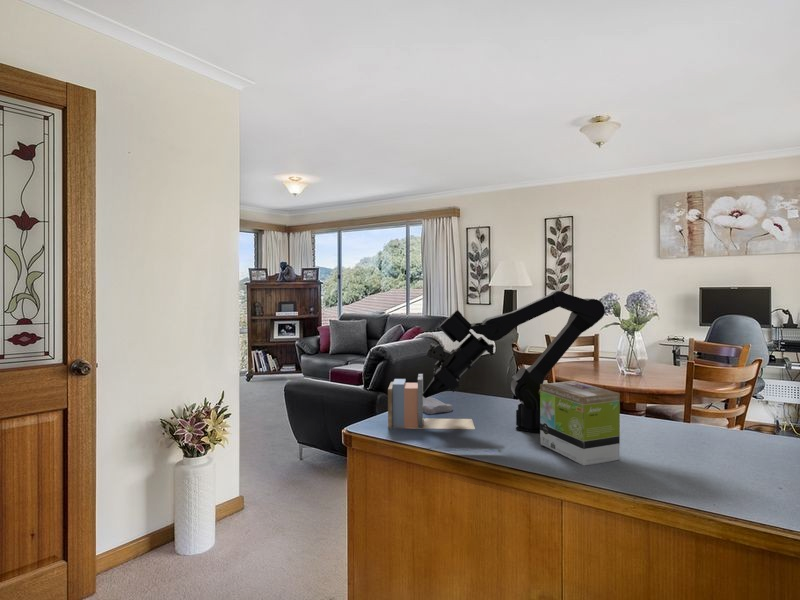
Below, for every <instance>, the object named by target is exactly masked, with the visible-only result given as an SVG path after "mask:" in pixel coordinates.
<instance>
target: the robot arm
mask: <svg viewBox="0 0 800 600" xmlns="http://www.w3.org/2000/svg"><path fill="white" fill-rule="evenodd" d="M557 308H561V309H563V310H566V311H568V312H570V314H569V317H568V320H567V322H566V323H565V325H564V327H563V328H562V329H561V330H560V331H559V332H558V334H556V336H555V337H554V338H553V340H552V341H551V342H550V343H549V345H548V346H547V347H546V348H545V349H544V350H543V352H542V353H541V354H540V355H539V357H538V358H537V359H535V361H534V363H532V365H530V366H528V367H527V368H525V366H524V365H521V366H520V367H519V369H518V371H517V372H516V373H515V375H513V376H512V377H511V378H512V380H511V383H510V389H511V391H512V393H513V395H514V396H515V397H516V398H517V399H518V401H519V402H520V403H519V404H517V409H516V410H515V424H516V426H515V430H517V431H523V432H524V431H525V432H529V433H530V432H531V433H536V434H540V384H544V381H545V379H546V377H547V375H548V374H549V373H550V372H551V370H552V369H553V368H554V366H555V365H556V364H558V362H559V360H561V358H562V357H563V356H564V355H565V353H566V352H567V351H568V350H569V349H570V348H571V346H572V345H573V344H574V343H575V342H576V340H577V339H578V338H579V337H580V336H581V334H583V333H584V332H586V331H587V330H589V329H590V328H592V327H593V326H594V325H596V324H598V322H599V321H601V320H602V319H603V318H604V316H605V313H606V311H605V308H606V307H605V305H604V304H603V302H601V300H599V299H596V298H582V297H578V296H575V295H571V294H569V293H566V292H564V291H562V290H554V291H553V290H552V292H550V293H549V294H547V295H545V296H543V297H541V298H538V299H536V300H534V301H532V302H530V303H528V304H526V305H523V306H521V307H519V308H516V309H515V310H513V311H510V312H506V313H502V314H497V315H493V316H490V317H486V318H485V319H484V320H482V322H477V323H475V322H473V323H471V322H469V321H468V319H466V318H465V317H464V316H463V314H462V313H461V312H460V310H458V309H457V310H455V311H454V312H453V313H452V314H451V315H449V316H448V317H446V319H444V321H442V322H441V324H440V325H439V326H438V329H440V330H441V332H443V333H444V334H445V336H446V337H448V339H449V340H450V341H451V342H453V343H455V342H458V343H461V342H462V341H463V340H464V341H463V342H462V343H461V344H460V345H458V347H457V348H453V349H451V350H450V351H449V350H447V349H446V348H444V346H443V345H440V344H437V345H436V344H434V343H432V342H431V343H430V344H429V347H428V348H427V350H426V353H425V356H427V357H428V358H429V359H430V358H431V359H435V360H436V362H435V363H434V366H435V367H437V369H436V368H433V378H432V379H431V381H430V382H429V384H428V385H427V387H426V389H425V390H424V391H423V397H424V398H427V397H432V396H435V395H437V394H439V393H440V394H441V393H442V392H443V393H444V392H445V391H448V390H450V391H451V392H452V393H454V392H455V391H457V389H459V387H460V383H459V380H460V379H461V376H462V375H463V374H464V373H465V372H466V371H467V370H470V369H471V368H472V367H473V366H472V365H473V364H474V363H475V362H476V361H478V360H479V358H480V357H481V356H482V355H483V354H484V353H485V352H487V353H488V354H489V355H490V356H494V347H495V345H494V344H493V343H488V342H487V341H486V339H487V340H489V341H492V342H496V341H500V340H501V339H502V338H504V337H506V336H507V335H509V334H510V333H511V332H512V331H513V330H515V329H516V328H518V326H520V325H522V324H524V323H527V322H528V321H531V320H533V319H535V318H537V317H540V316H541V315H544V314H547V313H548V312H551V311H553V310H555V309H557ZM471 330H472V331H473V332H474V333H475V334H476V335H483V337H484V338H486V339H484V338H483V337H482V336H480V337H478V338H477V337H476V335H474V334H473V333H472V332H471ZM468 335H469V336H468ZM467 336H468V337H467Z"/></svg>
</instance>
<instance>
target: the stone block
mask: <svg viewBox="0 0 800 600" xmlns="http://www.w3.org/2000/svg"><path fill="white" fill-rule="evenodd" d="M452 411H453V405H452V404H450V403H445V402H442V401H441V400H439V399H437V398H435V397H432V396H430V397H427V398H424V397H423V413H425V414H428V415H434V414H439V413H446V412H452Z"/></svg>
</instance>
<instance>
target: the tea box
mask: <svg viewBox="0 0 800 600" xmlns="http://www.w3.org/2000/svg"><path fill="white" fill-rule="evenodd" d="M539 394H540V433H539V434H540V435H539V436H540V438H539V439H540V446H543V447H545V448H548V449H550V450H552V451H553V452H555V453H558V454H560V455H562V456H564V457H566V458H567V459H570V460H572V461H573V462H575V463H578V465H581V466H583V467H585V466H590V465H596V464H602V463H603V464H604V463H609V462H613V461H618V460H620V448H621V447H620V441H621V440H620V437H621V436H620V435H621V433H620V432H621V431H620V429H621V428H620V425H621V424H620V423H621V417H620V415H621V414H620V413H621V411H620V410H621V405H620V404H621V402H620V401H621V397H620V396H621V393H620V392H616V391H613V390H610V389H609V390H608V389H605V388H603V387H598V386H595V385H591V384H588V383H587V384H586V383H584V382H579V381H575V380H568V381H559V382H551V383H549V382H548V383H543V384H540V391H539Z"/></svg>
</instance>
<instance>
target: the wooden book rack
mask: <svg viewBox="0 0 800 600" xmlns="http://www.w3.org/2000/svg"><path fill="white" fill-rule="evenodd" d="M393 382H394V381H390V383H389V386H388V388H387V428H388V429H404V430H405V429H414V430H418V429H419V430H420V429H421V430H422V429H424V430H425V429H427V430H428V429H429V430H430V429H431V430H435V429H436V430H437V429H438V430H476V427H475V425H474V421H473V419H472V418H424V417H423V427H393V403H392V384H393Z"/></svg>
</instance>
